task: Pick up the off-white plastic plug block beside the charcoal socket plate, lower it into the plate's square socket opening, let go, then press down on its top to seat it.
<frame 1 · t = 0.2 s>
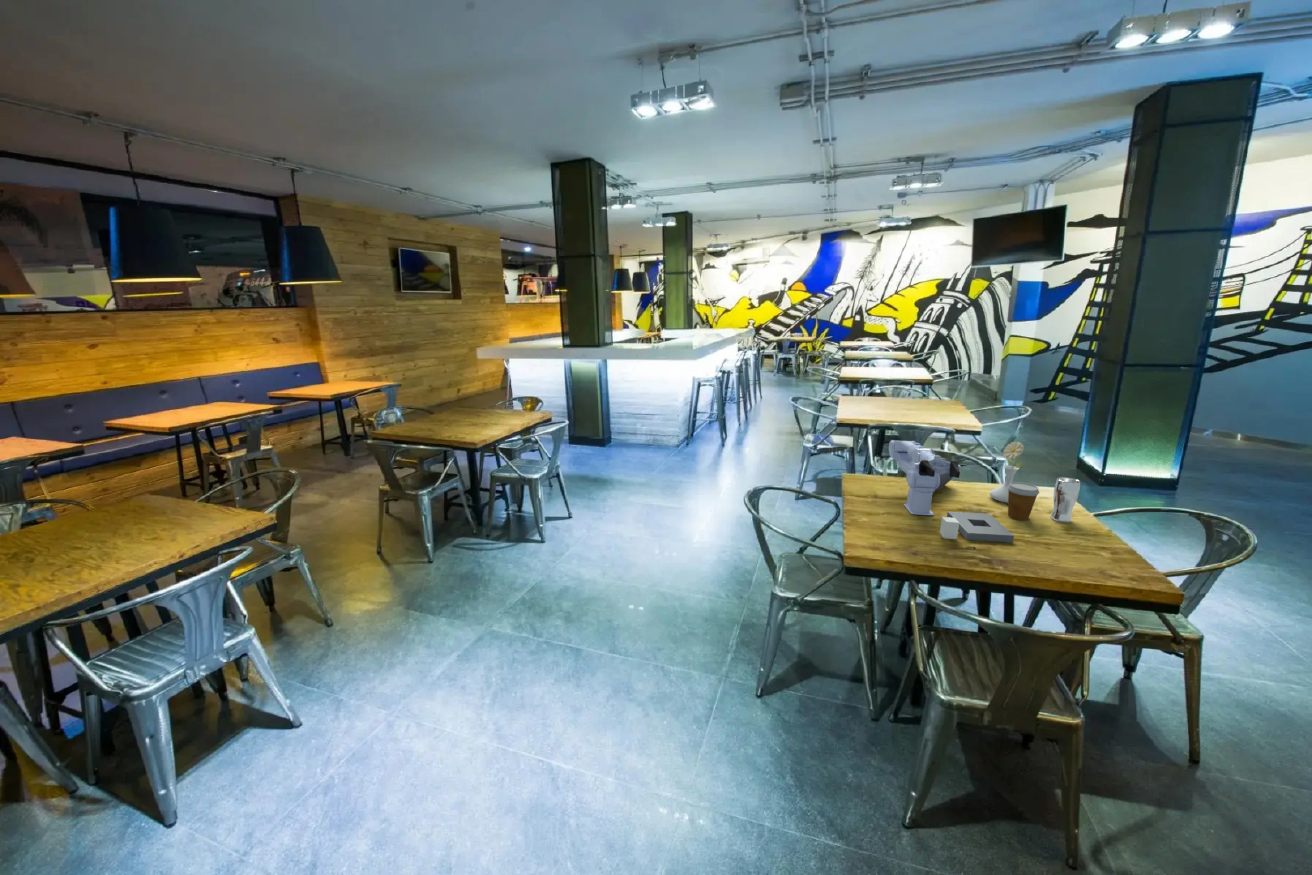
hand: (945, 474, 171), 21 cm above the table, tool horizontal, fingers open, 7 cm apart
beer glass: (1060, 519, 187), on the table
socket plate: (978, 529, 179), on the table
flower in vase: (1006, 501, 204), on the table
bluetooth speaker: (931, 491, 216), on the table
plug block: (948, 536, 175), on the table
disposable coffee cup: (1017, 517, 190), on the table
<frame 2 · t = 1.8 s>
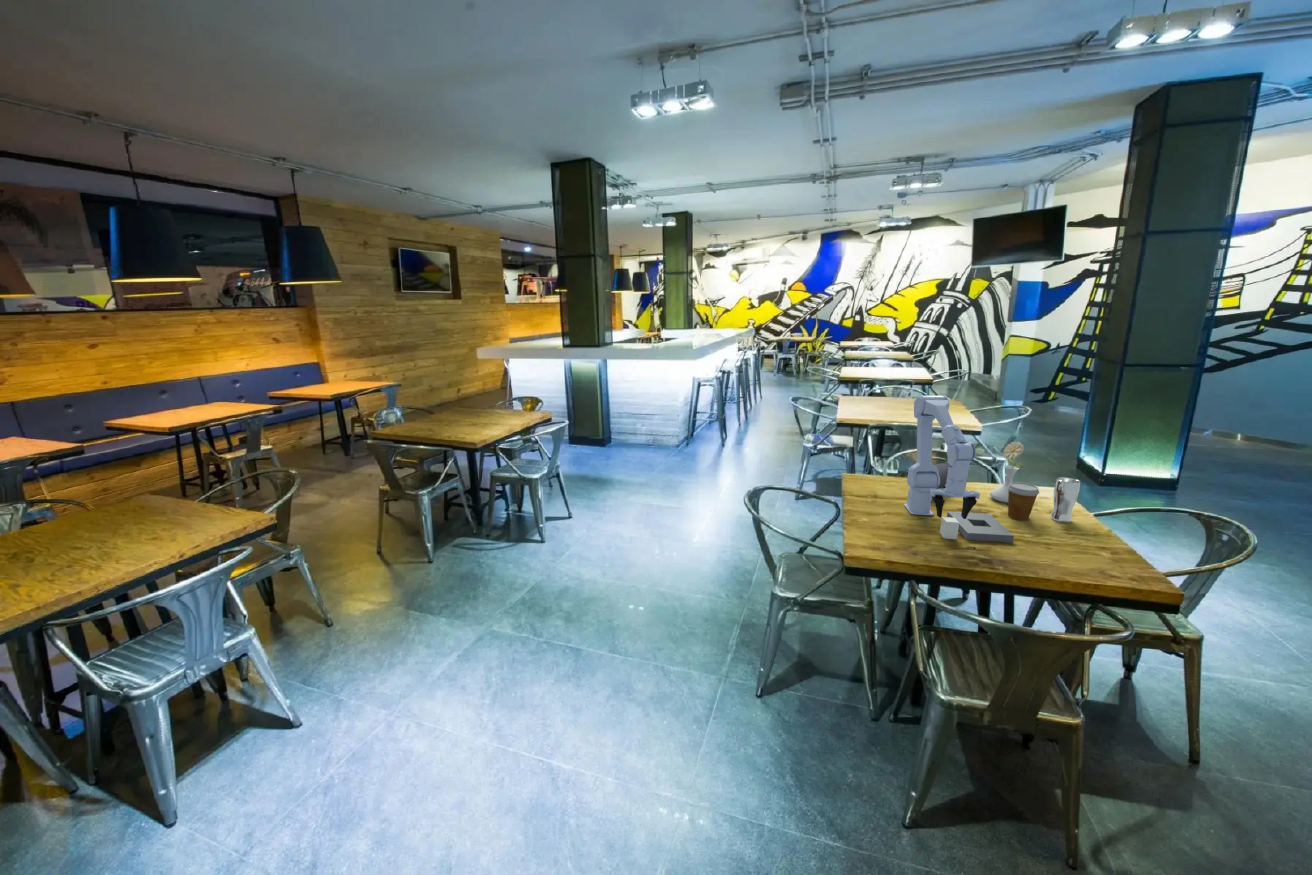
hand: (951, 517, 173), 7 cm above the table, tool pointing down, fingers open, 7 cm apart
nothing on the table moved.
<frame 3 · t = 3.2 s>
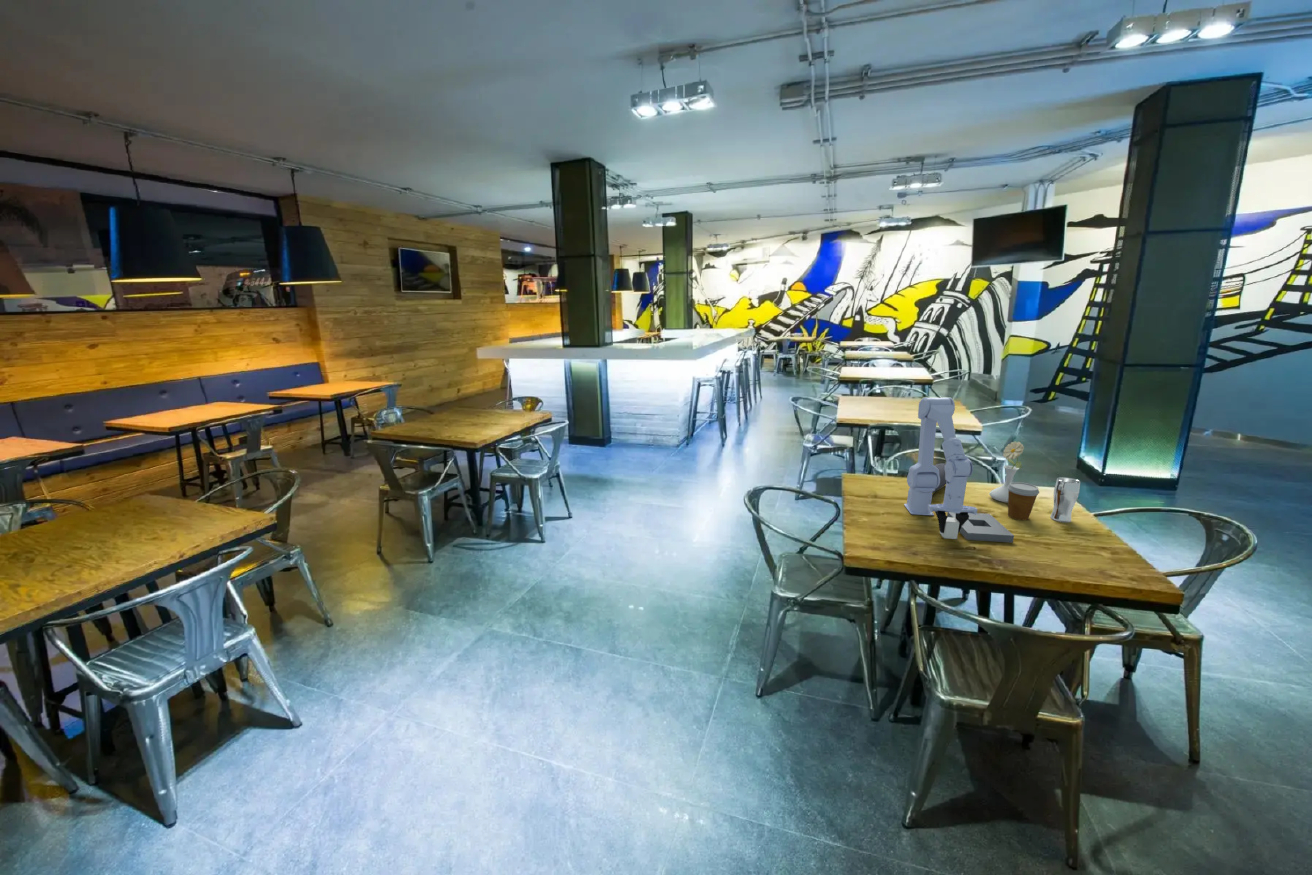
hand: (948, 532, 174), 1 cm above the table, tool pointing down, fingers closed on plug block, 4 cm apart
plug block: (948, 536, 175), on the table, touching gripper
everything else where it was.
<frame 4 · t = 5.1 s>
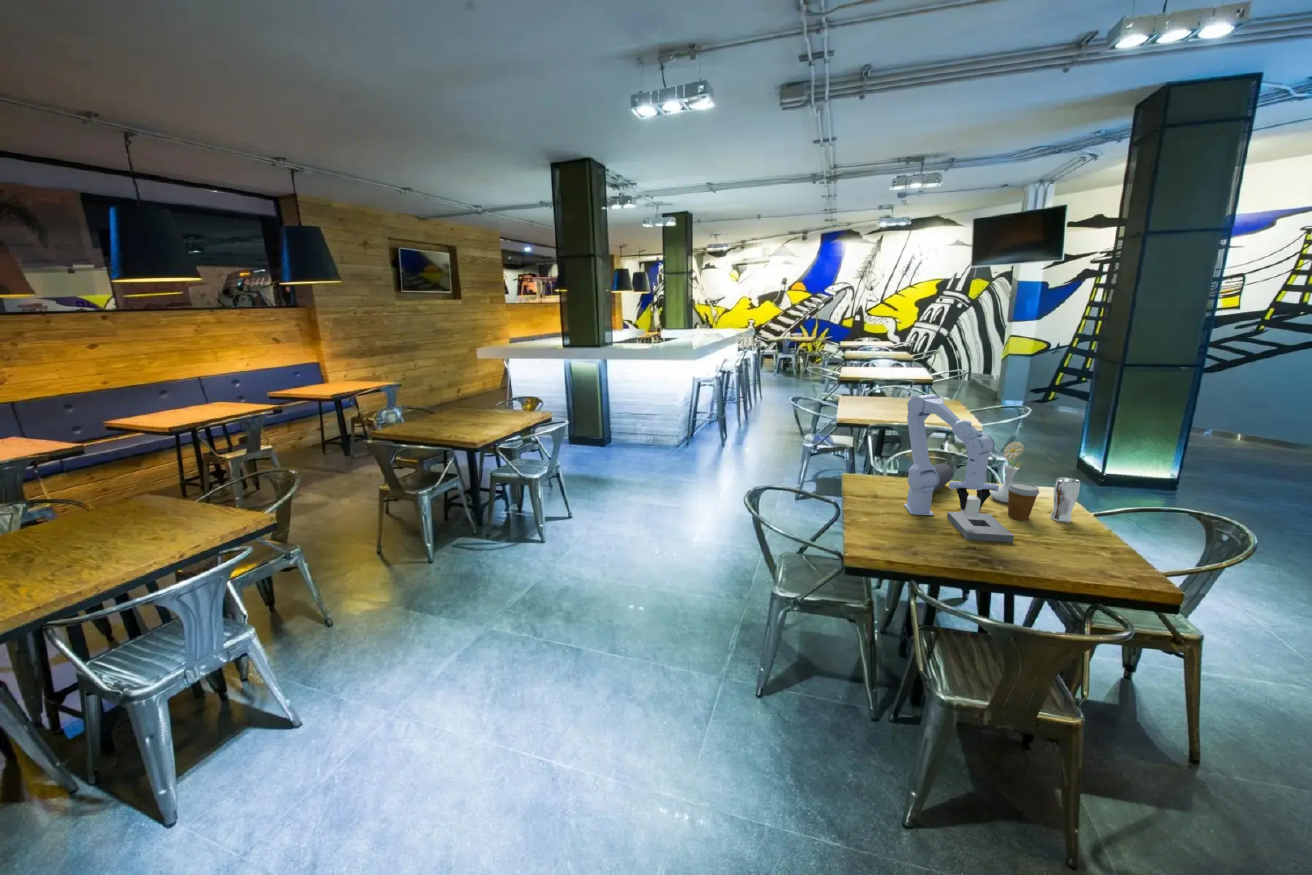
hand: (969, 509, 175), 8 cm above the table, tool pointing down, fingers closed on plug block, 4 cm apart
plug block: (969, 513, 175), point 7 cm above the table, touching gripper
everything else where it was.
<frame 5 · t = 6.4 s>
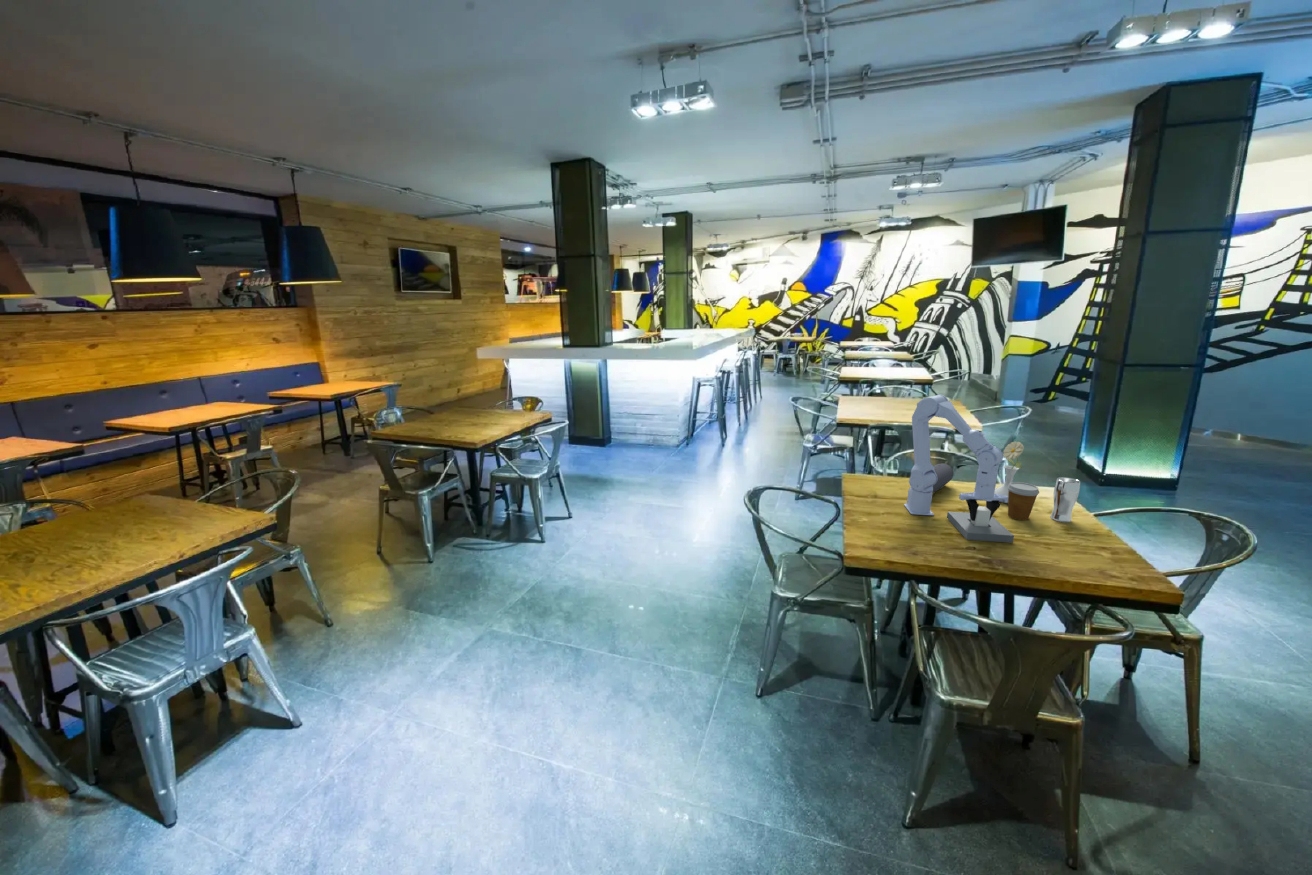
hand: (979, 520, 178), 4 cm above the table, tool pointing down, fingers closed on plug block, 4 cm apart
plug block: (979, 524, 179), point 2 cm above the table, touching gripper
everything else where it was.
when the fingers open (3 cm above the table, at t = 7.2 s): plug block drops 2 cm, resting in socket plate.
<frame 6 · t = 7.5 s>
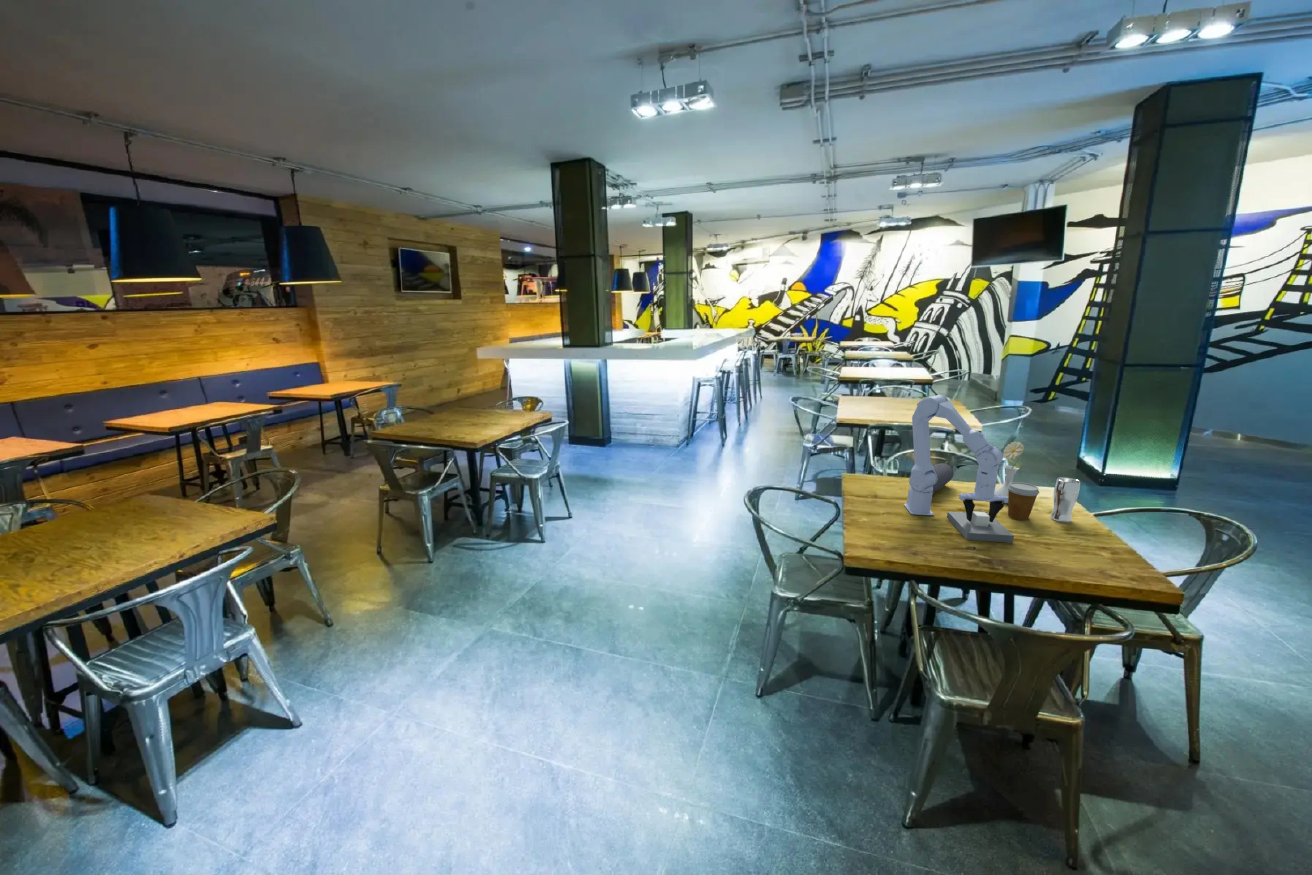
hand: (979, 520, 178), 3 cm above the table, tool pointing down, fingers open, 6 cm apart
plug block: (978, 529, 179), resting in socket plate
everything else where it was.
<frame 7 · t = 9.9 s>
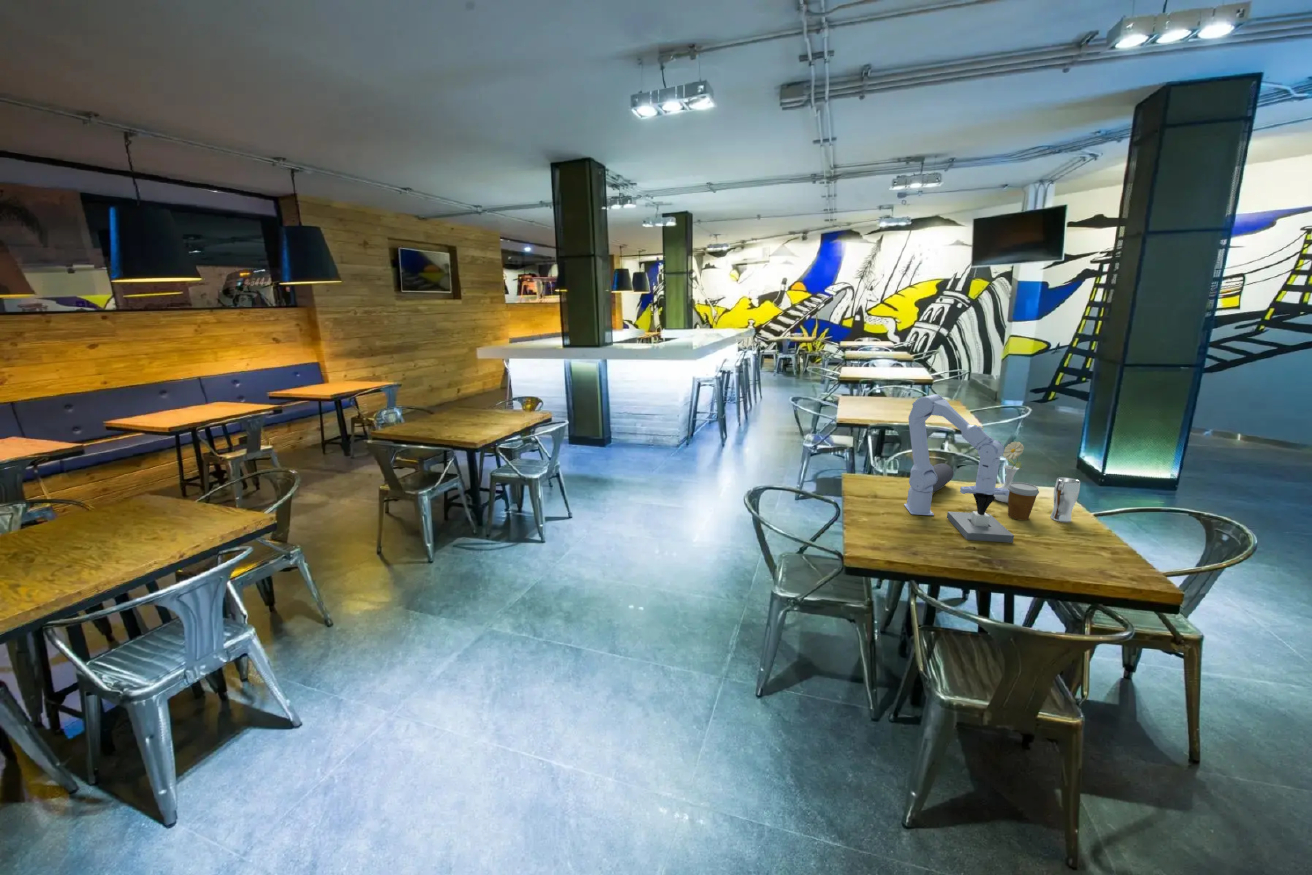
hand: (980, 513, 178), 6 cm above the table, tool pointing down, fingers closed, pressing on plug block
plug block: (978, 529, 179), resting in socket plate, touching gripper
everything else where it was.
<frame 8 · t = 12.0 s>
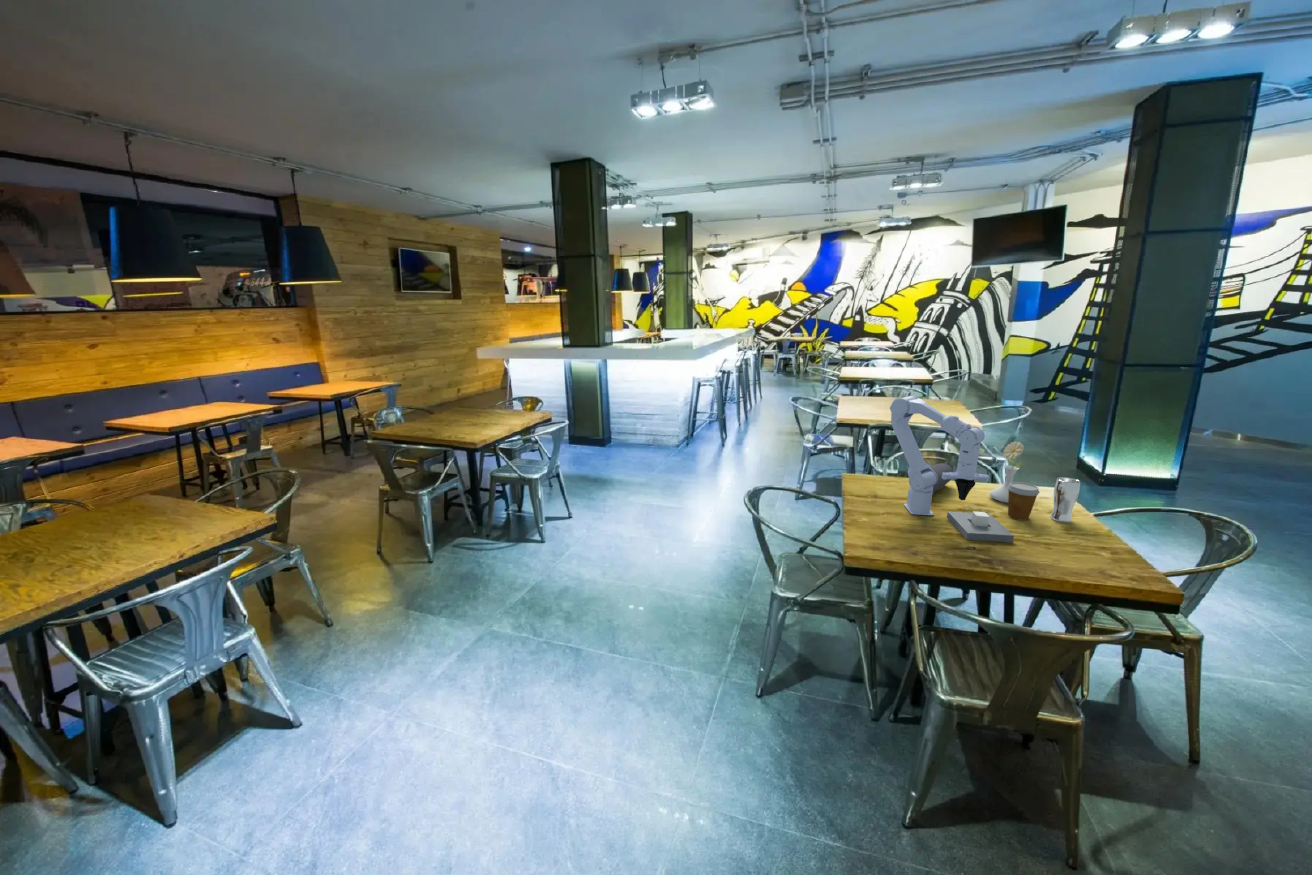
hand: (961, 499, 182), 9 cm above the table, tool pointing down, fingers closed
plug block: (978, 529, 179), resting in socket plate
everything else where it was.
at the end: plug block 0.2 cm off-centre on the socket plate, point 0.0 cm above the socket plate's base; plug block tilted 0°; the gripper is holding nothing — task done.
